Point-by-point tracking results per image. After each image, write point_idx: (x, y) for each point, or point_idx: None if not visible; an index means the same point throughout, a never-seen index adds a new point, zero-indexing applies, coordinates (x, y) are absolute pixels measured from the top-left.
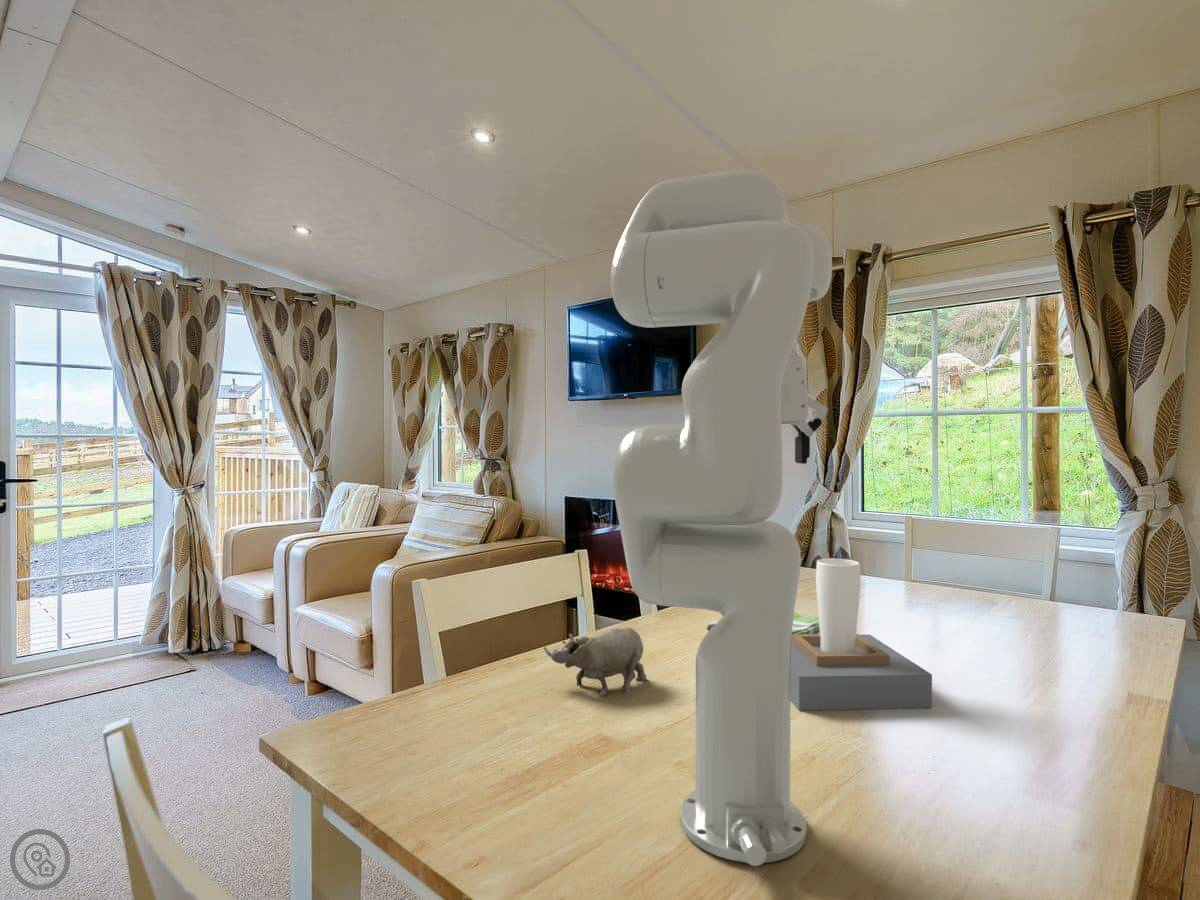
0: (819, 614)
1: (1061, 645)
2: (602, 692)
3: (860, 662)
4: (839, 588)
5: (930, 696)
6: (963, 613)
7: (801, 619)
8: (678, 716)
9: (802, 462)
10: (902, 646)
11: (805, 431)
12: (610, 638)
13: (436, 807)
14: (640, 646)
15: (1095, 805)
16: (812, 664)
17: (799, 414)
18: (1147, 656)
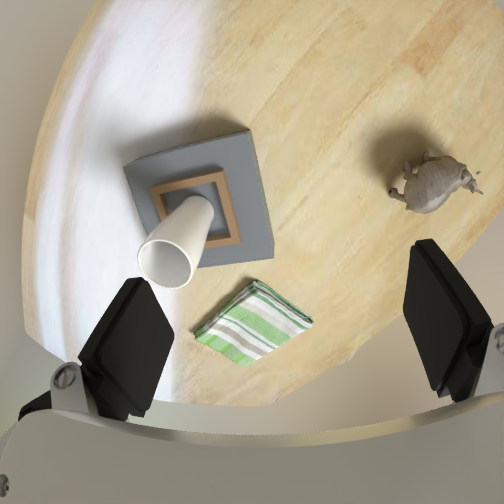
0: (206, 226)
1: (58, 298)
2: (427, 154)
3: (179, 179)
4: (173, 223)
5: (133, 161)
6: None
7: (221, 344)
8: (365, 107)
9: (144, 281)
10: None
11: (74, 383)
12: (443, 179)
13: (481, 8)
14: (410, 187)
15: (89, 38)
16: (228, 173)
17: (30, 447)
18: (28, 281)
